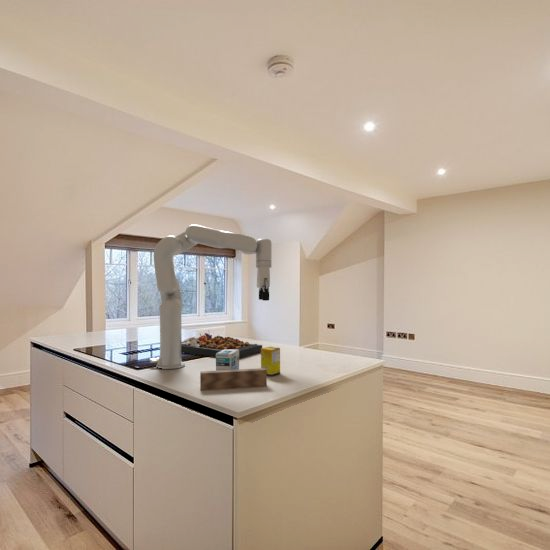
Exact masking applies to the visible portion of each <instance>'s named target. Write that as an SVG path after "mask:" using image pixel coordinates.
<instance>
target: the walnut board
mask: <svg viewBox="0 0 550 550" xmlns="http://www.w3.org/2000/svg"><path fill="white" fill-rule="evenodd" d="M199 372H200V376H199V377H200V380H199V385H200V387H199V388H200V391H206V390H205V389H215V390H228V389H229V390H230V389H244V388H259V387H261V388H262V387H267V386H268V385H267V383H268V382H267V381H268V379H267V377H268V376H267V370H266V369H265V368H261V367H259V368H242V369H241V368H239V370H220V371H216V370H205V371H203V370H202V371H199ZM203 389H204V390H203Z"/></svg>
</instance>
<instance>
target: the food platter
mask: <svg viewBox="0 0 550 550" xmlns="http://www.w3.org/2000/svg"><path fill="white" fill-rule="evenodd" d="M209 332H210V330H208V333H207V332H204V334H201V333H199V337H198V338H197V337H195V336H192V337H187V338H186V339H185V340H184V341H181V352H185V353H184V354H187V353H191V354H190V355H195V354H198V355H197V356H202V355H204V356H203V357H210V358H216V353H218V352H220V351H222V350H224V349H237V350H239V360H240V359H243V358H247V357H250V356H253V355H257V354H261V348H263V345H262V344H257V343H250V342H248V341H245V342H244V341H243V340H239V339H238V338H234V337H231V336H225V337H223V336H221V335H216V336H214V337H213V335H212V334H211V333H209Z"/></svg>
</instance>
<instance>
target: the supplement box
mask: <svg viewBox="0 0 550 550" xmlns="http://www.w3.org/2000/svg"><path fill="white" fill-rule="evenodd" d="M260 368H265V369H266V370H267V377H273V376H277V375H281V348H280V347H275V346H267V347H262V348H261V353H260Z"/></svg>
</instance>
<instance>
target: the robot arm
mask: <svg viewBox="0 0 550 550" xmlns="http://www.w3.org/2000/svg"><path fill="white" fill-rule="evenodd" d="M198 244H199V245H203V246H206V247H207V246H208V247H210V248H211V247H212V248H216V249H230V250H235V251H240V252H241V253H242V254H243V255H253V254H254V255H255V268H257V269H256V270H257V271H256V288H258V300H261V301H265V302H266V301H270V285H271V274H270V273H271V271H270V269H272V241H271V239H268V238H258V239H255V238H254V237H252V236H249V235H245V234H241V233H237V232H232V231H231V232H230V231H227V230H226V231H225V230H222V229H221V230H220V229H216V228H212V227H208V226H204V225H201V224H190V225H188V226H187V227H186V229H185V231H183V232H182V233H179V234H177V235H166V236H165V237H163V238H162V239H160V241H158V242H157V244H156V245H155V248H154V251H153V265H154V273H155V279H156V288H157V290H158V291H159V293H160V294H159V295H160V300H161V302H160V305H159V356H158V357H155V358H150V357H149V363H150V364H151V363H152V364H156V365H155V366H156V368H157V367H158V368H157V369H159V368H162V369H161V370H175V369H181V368H183V367H185V366H186V362H184V361H182V353H181V342H182V335H183V333H182V311H183V309H184V308H183V307H184V305H183V300H182V293H181V287H180V283H179V282H180V281H179V279H178V278H177V277H176V273H175V265H174V261H173V260H174V259H173V258H174V257H175V256H178V255H181V254H182V253H184V252H186V251H188V250H190V249H192V248H194V247H195V246H197V245H198Z"/></svg>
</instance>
